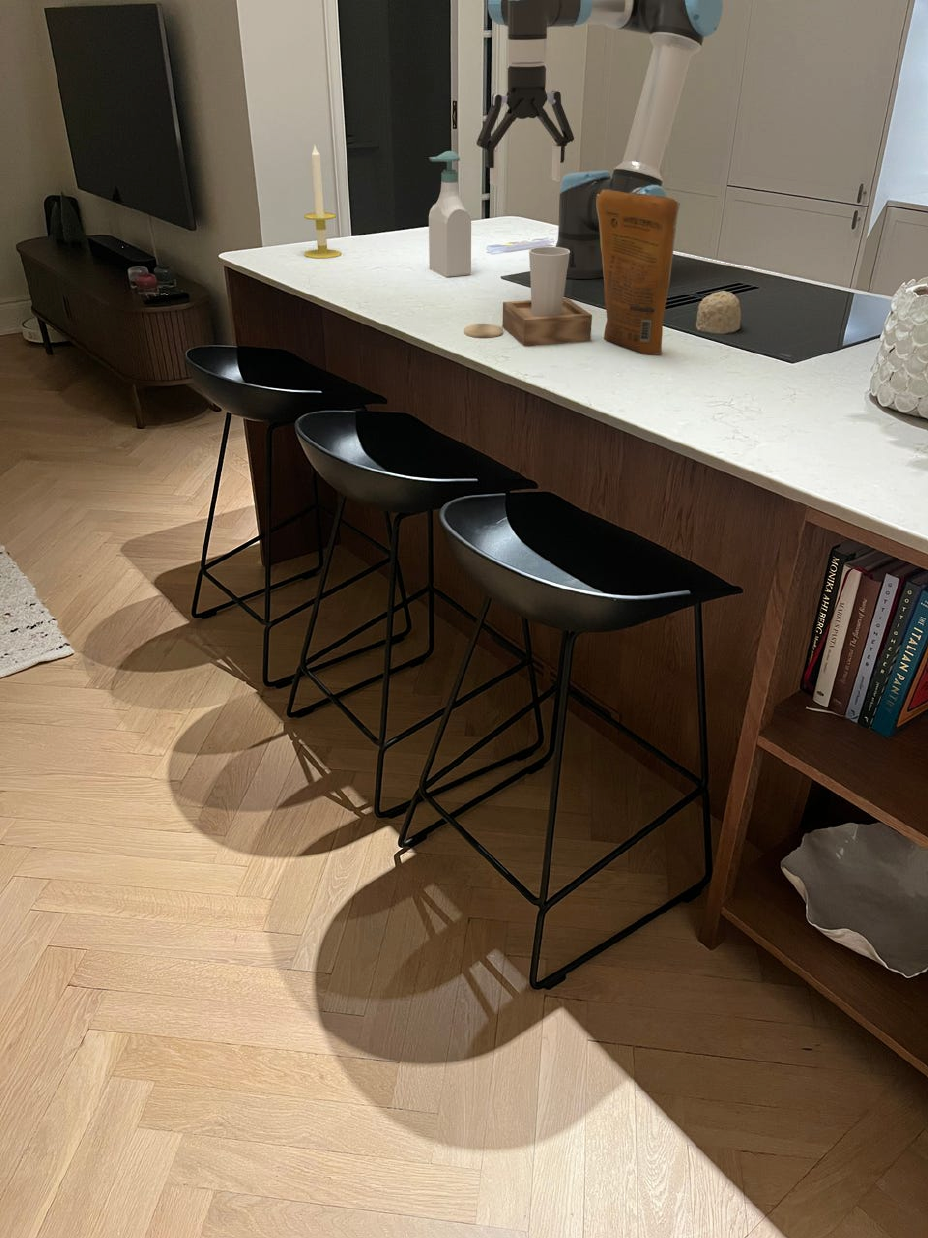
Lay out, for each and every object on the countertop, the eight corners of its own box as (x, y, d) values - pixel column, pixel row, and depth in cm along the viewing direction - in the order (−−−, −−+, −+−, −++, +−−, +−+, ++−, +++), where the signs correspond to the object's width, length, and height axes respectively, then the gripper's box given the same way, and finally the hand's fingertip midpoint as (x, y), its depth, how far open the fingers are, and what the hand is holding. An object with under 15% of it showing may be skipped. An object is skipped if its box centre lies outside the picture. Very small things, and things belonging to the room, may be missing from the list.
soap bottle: (423, 268, 244) (420, 149, 229) (452, 265, 247) (452, 147, 232) (440, 278, 235) (439, 154, 220) (470, 275, 238) (471, 152, 223)
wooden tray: (565, 321, 203) (567, 297, 200) (590, 340, 192) (592, 314, 189) (502, 326, 200) (503, 301, 197) (523, 345, 189) (524, 319, 186)
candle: (349, 253, 259) (342, 142, 244) (325, 260, 252) (317, 146, 237) (320, 248, 263) (312, 139, 249) (296, 255, 256) (286, 143, 242)
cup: (564, 319, 190) (567, 255, 183) (524, 317, 191) (526, 254, 185) (568, 309, 196) (572, 247, 190) (529, 307, 198) (532, 245, 191)
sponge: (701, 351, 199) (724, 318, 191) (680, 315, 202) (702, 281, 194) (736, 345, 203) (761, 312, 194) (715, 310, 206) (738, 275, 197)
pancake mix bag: (649, 360, 181) (666, 200, 166) (583, 336, 194) (594, 185, 179) (675, 354, 184) (694, 196, 169) (608, 331, 197) (621, 182, 182)
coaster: (496, 325, 201) (496, 322, 200) (508, 336, 194) (508, 333, 194) (459, 328, 199) (459, 325, 198) (469, 339, 192) (469, 336, 192)
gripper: (578, 60, 193) (573, 175, 205) (460, 65, 187) (462, 183, 199) (593, 62, 187) (587, 180, 199) (472, 68, 181) (473, 190, 193)
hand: (525, 182), depth 199 cm, fingers open, 13 cm apart
